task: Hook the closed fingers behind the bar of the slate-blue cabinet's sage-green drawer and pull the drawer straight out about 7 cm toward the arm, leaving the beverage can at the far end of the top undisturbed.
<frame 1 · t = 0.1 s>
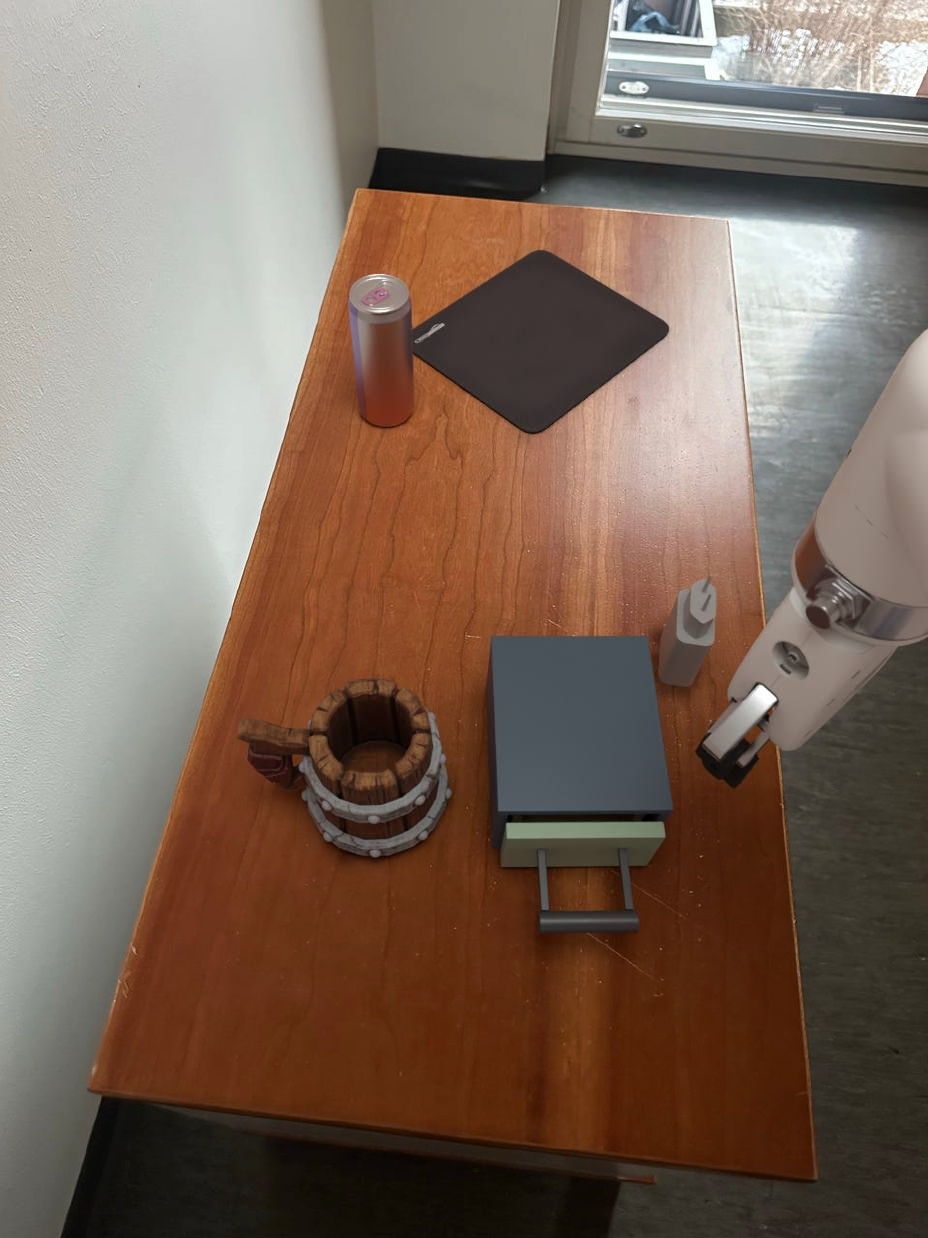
hand: (767, 721, 56), 19 cm above the table, tool pointing down, fingers open, 9 cm apart
beverage can: (386, 410, 96), on the table
mouse pad: (537, 336, 103), on the table
mug: (359, 795, 73), on the table
power adapter: (676, 660, 81), on the table
cabinet: (563, 763, 75), on the table
drawer: (575, 804, 68), point 4 cm above the table, slide at 0.5 cm
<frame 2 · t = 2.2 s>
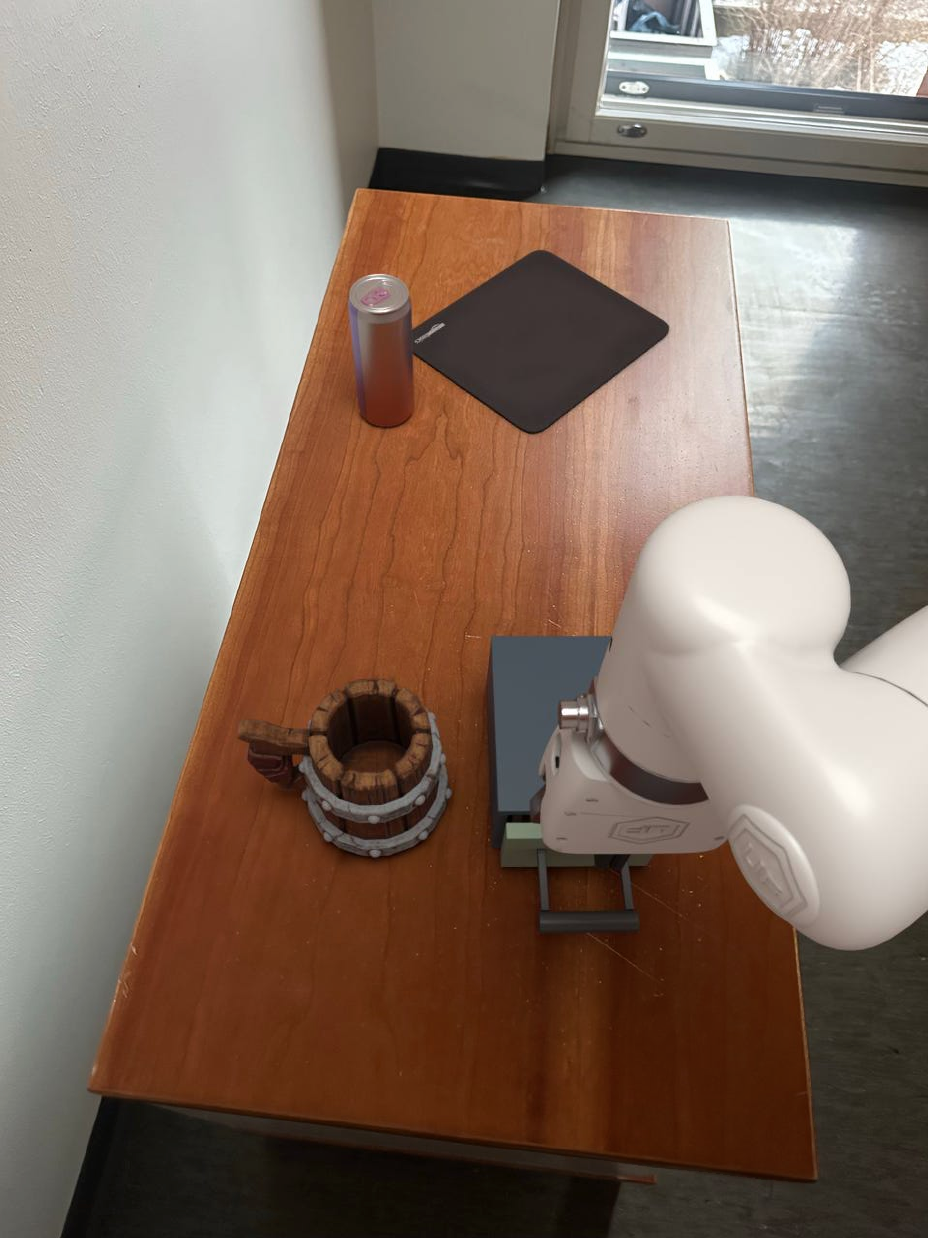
hand: (605, 846, 56), 15 cm above the table, tool pointing down, fingers closed
nothing on the table moved.
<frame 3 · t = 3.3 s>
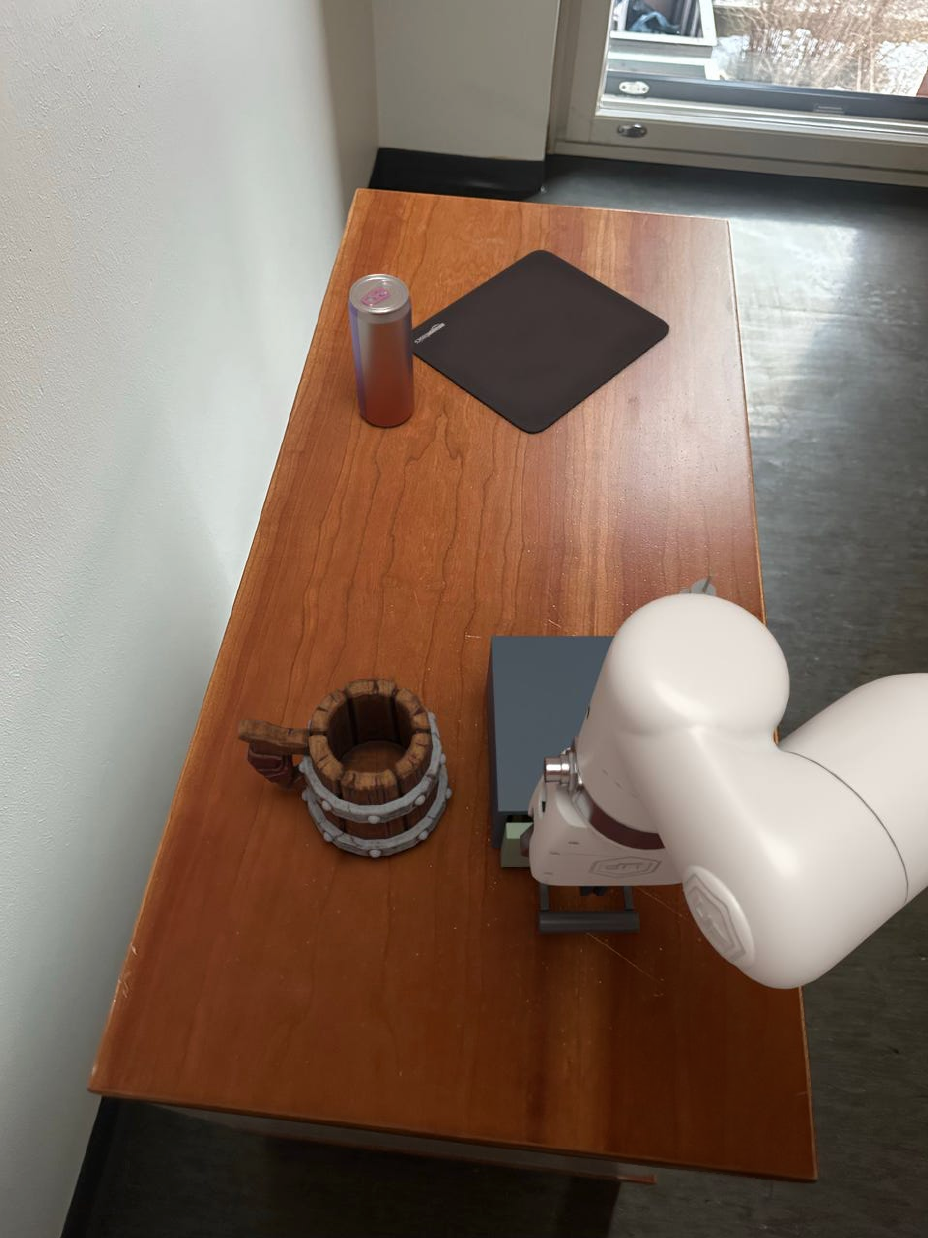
hand: (589, 874, 61), 8 cm above the table, tool pointing down, fingers closed
nothing on the table moved.
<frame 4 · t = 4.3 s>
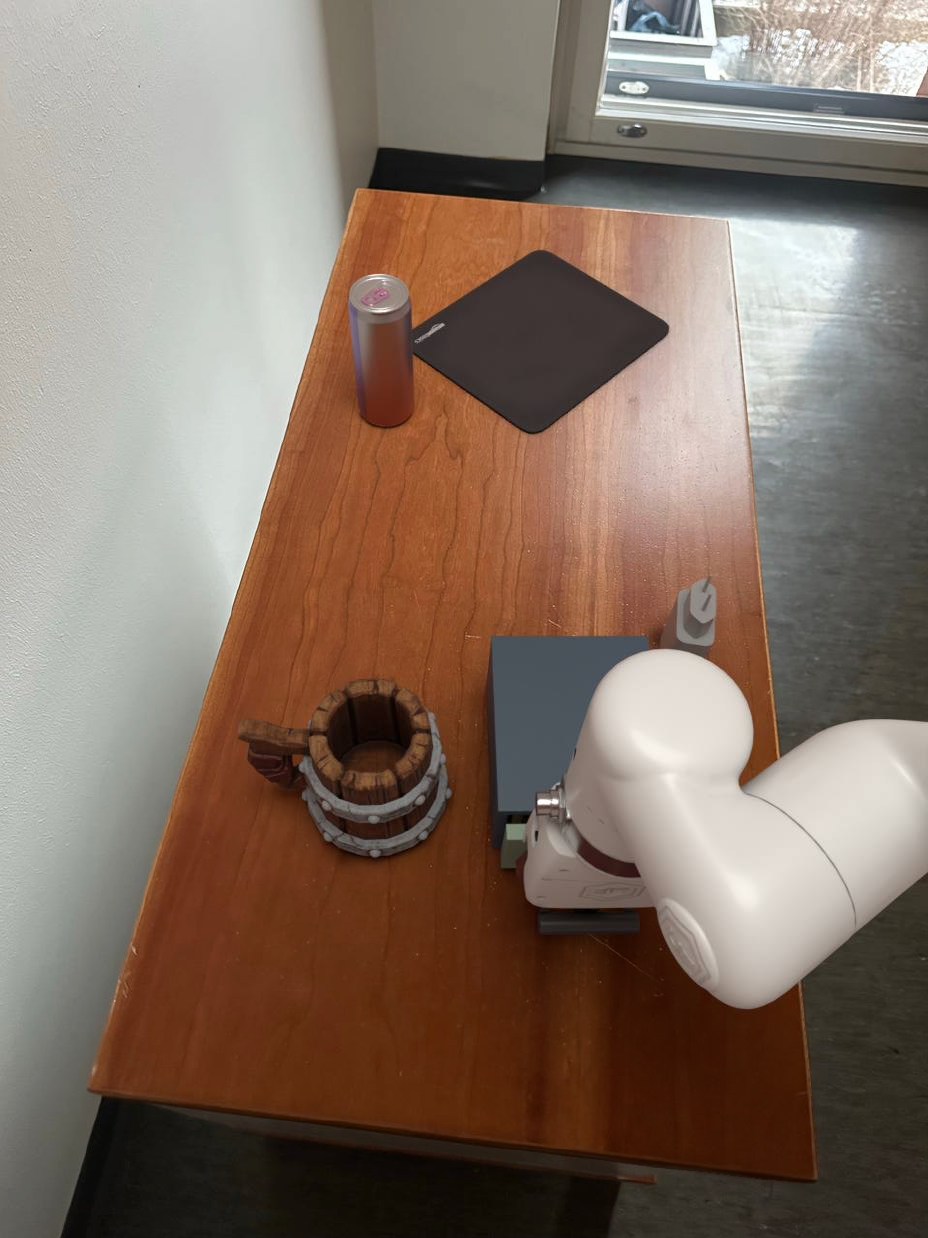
hand: (581, 895, 65), 4 cm above the table, tool pointing down, fingers closed
drawer: (575, 805, 68), point 4 cm above the table, slide at 0.6 cm, touching gripper
everything else where it was.
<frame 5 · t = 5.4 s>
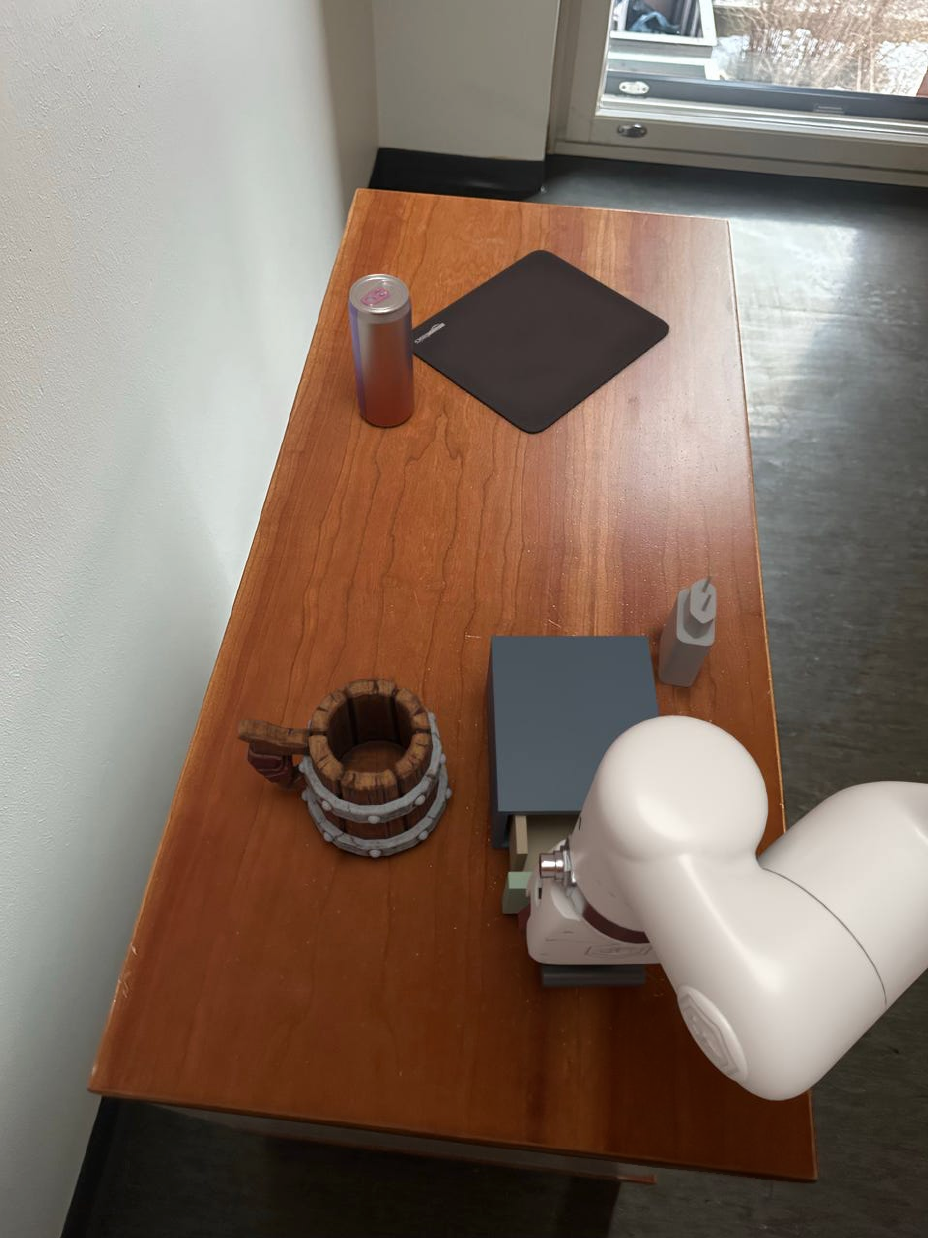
hand: (586, 944, 64), 4 cm above the table, tool pointing down, fingers closed
drawer: (579, 849, 67), point 4 cm above the table, slide at 4.0 cm, touching gripper
everything else where it was.
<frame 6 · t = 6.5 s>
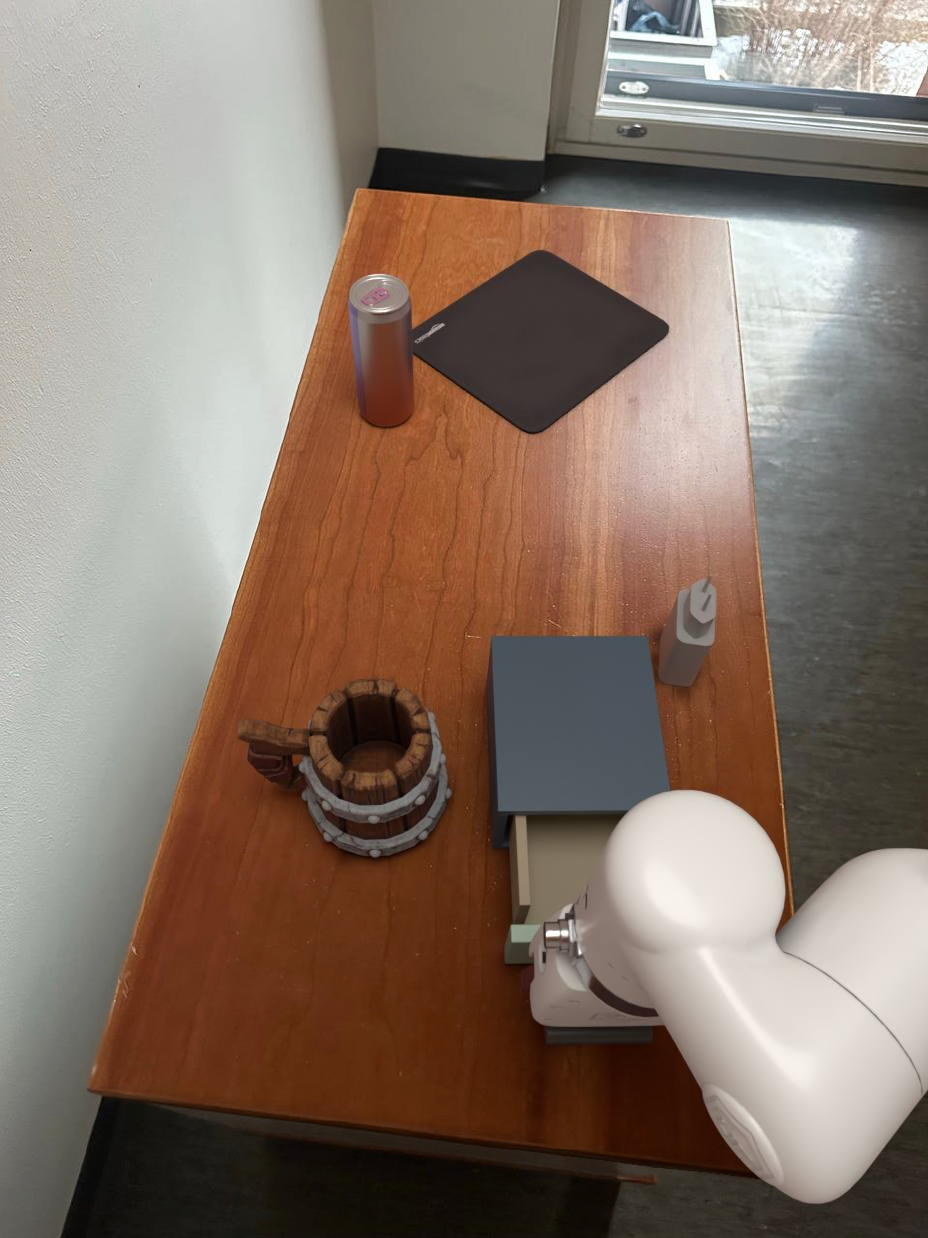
hand: (590, 998, 62), 4 cm above the table, tool pointing down, fingers closed
drawer: (583, 898, 65), point 4 cm above the table, slide at 7.6 cm, touching gripper
everything else where it was.
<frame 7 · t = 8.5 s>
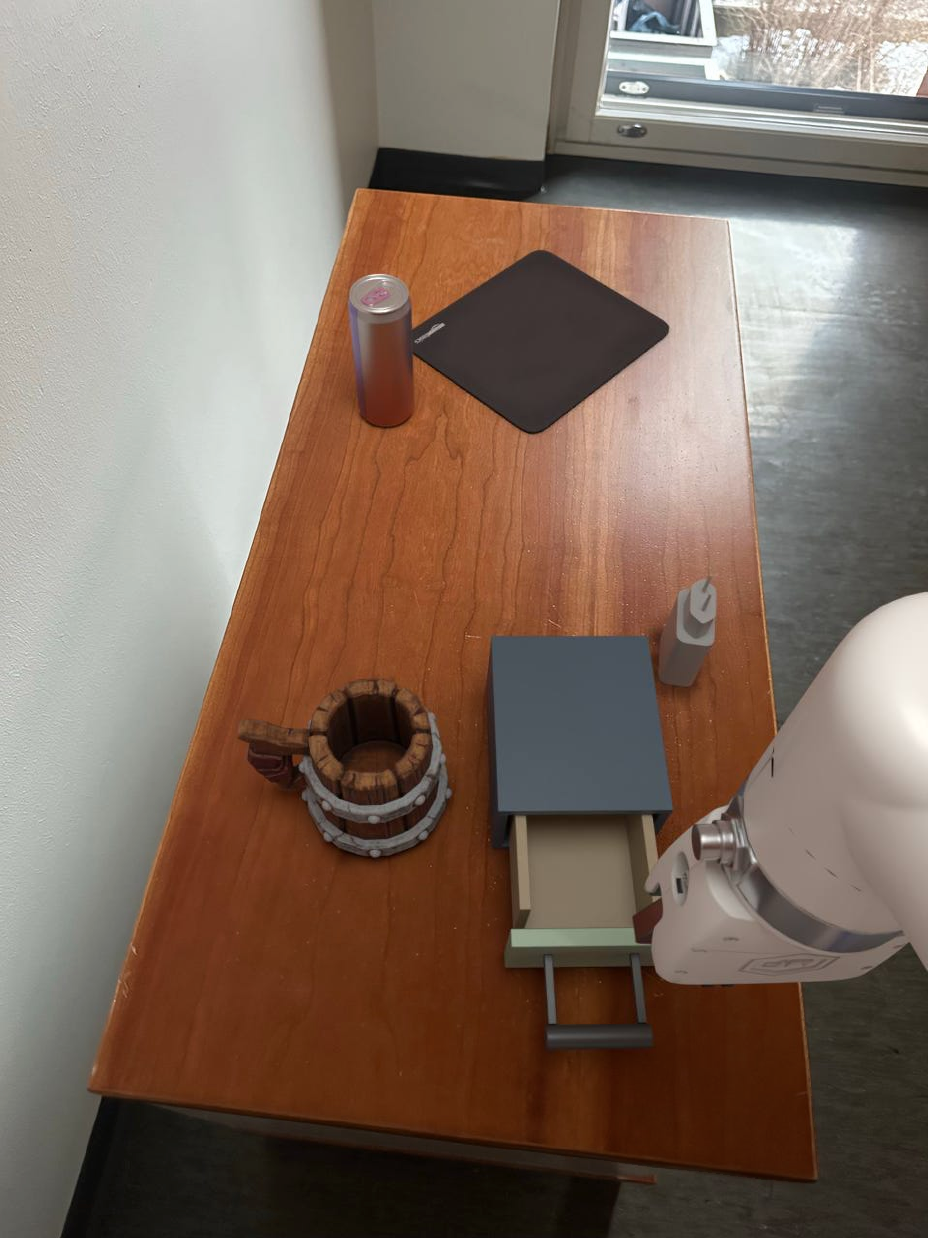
hand: (710, 957, 49), 19 cm above the table, tool pointing down, fingers closed
drawer: (584, 902, 65), point 4 cm above the table, slide at 7.9 cm
everything else where it was.
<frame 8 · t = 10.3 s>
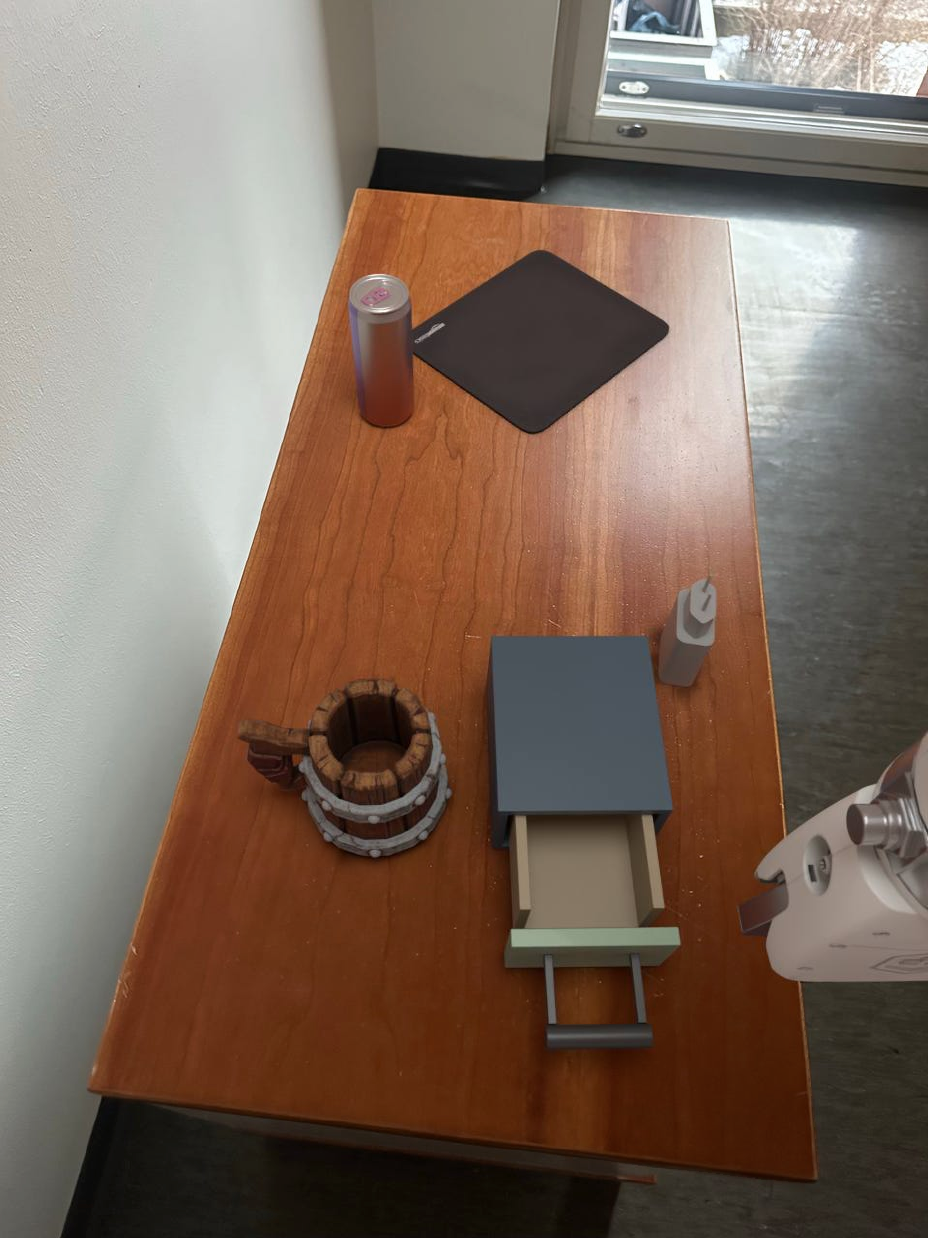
hand: (808, 950, 45), 23 cm above the table, tool pointing down, fingers closed
nothing on the table moved.
at the end: drawer slide at 7.9 cm; beverage can moved 0.2 cm from its start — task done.
